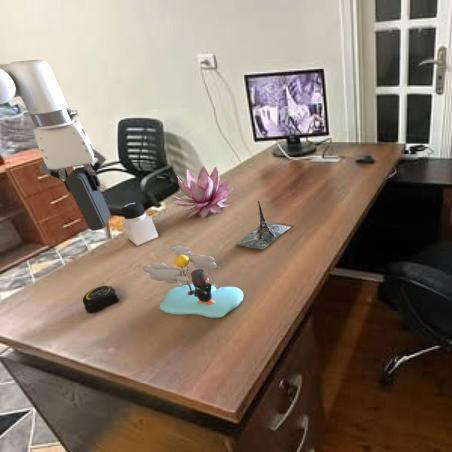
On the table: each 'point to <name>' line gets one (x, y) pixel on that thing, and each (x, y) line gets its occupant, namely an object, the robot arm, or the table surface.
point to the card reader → (88, 199)
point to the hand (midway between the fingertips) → (86, 190)
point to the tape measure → (99, 299)
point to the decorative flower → (204, 192)
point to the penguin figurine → (194, 287)
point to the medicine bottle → (138, 224)
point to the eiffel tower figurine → (263, 233)
